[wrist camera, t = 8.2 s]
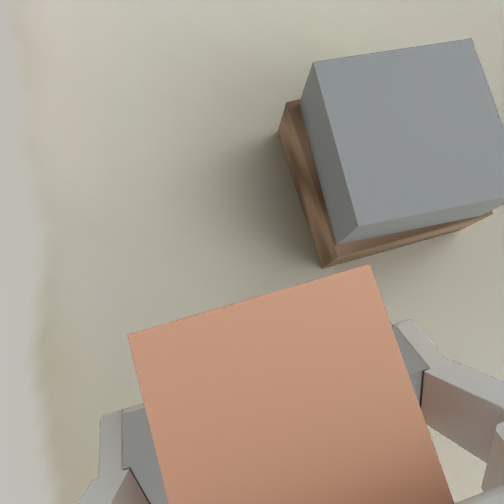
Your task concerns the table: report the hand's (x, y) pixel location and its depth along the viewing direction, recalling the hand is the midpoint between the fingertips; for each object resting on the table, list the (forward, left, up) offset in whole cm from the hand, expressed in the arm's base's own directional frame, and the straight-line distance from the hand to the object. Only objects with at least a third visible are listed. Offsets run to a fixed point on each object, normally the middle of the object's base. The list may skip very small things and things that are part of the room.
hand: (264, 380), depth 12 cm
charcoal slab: (-16, +3, -15) cm, 23 cm away
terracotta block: (0, 0, -4) cm, 4 cm away
